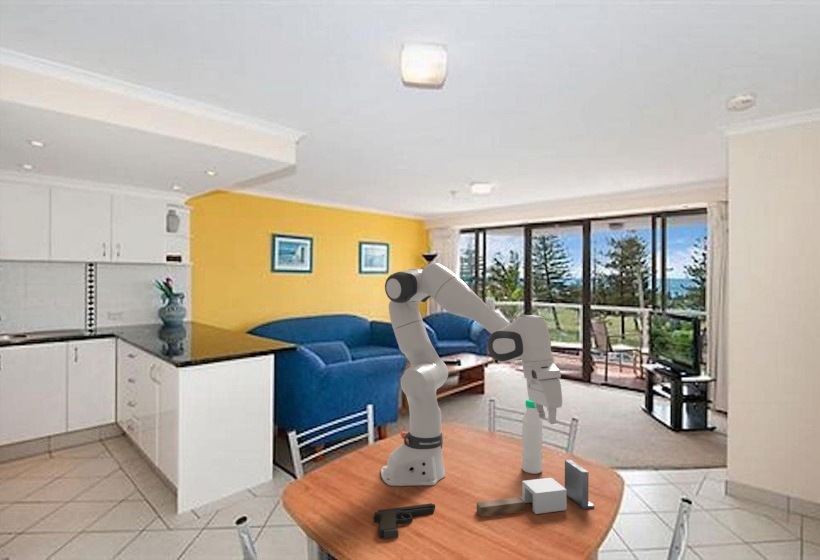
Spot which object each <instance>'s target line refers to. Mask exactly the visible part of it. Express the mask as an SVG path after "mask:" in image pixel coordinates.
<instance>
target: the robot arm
mask: <svg viewBox="0 0 820 560" xmlns="http://www.w3.org/2000/svg"><path fill="white" fill-rule="evenodd" d="M384 291H385V295H386V296H387V298H388V299H389V300H390V301H389V303H388V313H389V319H390V322H391V326H392V330H393V333H394V336H395V339H396V343H397V344H398V348H399V351H400V352H401V353H402V354H403V355H405V357H406V358H407V359H408V362H409V363H410V365H411V366H410V367H408V369H407V370H405V372H404V373H403V374H402V376H401V378H400V388H401V391H403V393H404V395H405V396H406V400H407V404H408V411H409V430H408V432H407V433H406V431H401V432H400V433H399V434H400V436H401V438H402V439H403V443H402V444H401V445H400V446H398V447H397V448H396V449H395V450H393V451H391V453H389V457H388V459H387V465H383V466H382V467H381V469H380V476H381V479H382V481H383V482H384V483H385V484H387V485H388V486H392V487H404V486H434V485H436V484H437V483H438V481H440V480H442V479H443V478H444V477H445V476H446V470H445V466H444V459H443V451H442V449H443V444H444V442H443V440H444V439H443V432H442V411H441V410H442V409H441V408H440V407H439V404H438V399H437V398H438V397H437V390H438V389H440V388H441V387H442V386H444V384H445V383H446V381H447V379H448V377H449V369H448V366H447V365H446V363H445V362H444V361H443V360H442V359H441V358H440V356H439V354H438V353H437V351H436V349H435V347H434V346H433V344H432V342H431V340H430V337H429V335H428V331H427V329H426V325H425V323H424V320H423V318H422V315H421V312H420V311H421V310H420V303H425V302H426V301H428V300H429V299H430V298H432V299H433V301H434V302H435V303H437V305H438V306H440V307H441V308H442V309H444V310H445V311H446V312H448V313H449V314H451V315H454V316H458V317H462V318H467V319H469V320H472V321H474V322H476V323H478V324H479V325H481V326H482V327H483V328H484V329H485V330H486V331H487V332H488V333H490V335H489V337H488V339H487V343H486V345H487V346H486V347H487V351H488V353H489V355H490V357H491V358H492V359H494V360H495V361H498V362H501V363H508V362H514V361H521V364H522V369H523V371H522V372H523V378H524V379H526V387H527V388H526V390H527V396H528V399H529V400H530V401H533V402H534V403H535V407H536V410H537V413H538V417H539V418H541V419H542V420H543V419H546V412H547V421H548V422H547V423H549V424H550V425H555V424H557V412H558V411H557V409H559V408H561V407H562V406H563V393H562V386H561V380H560V378H561V377H562V374H561V371H560V369H559V367H558V366H557V365H556V363H555V359H554V355H553V353H552V339H551V335H550V330H549V326H548V324H547V321H546V319H545V318H544V317H542V316H540V315H534V314H522V315H518V316H517V318H515V320H514V321H512V322H511V323H509V322H508V321H507V320H505V319H504V318H503V317H502V316H501V315H500V314H498V313H497V312H496V311H495V310H494V309H492V308H491V306H489V305H488V304H486V303H485V302H484V300H482V299H481V298H480V297H479V295H477V294H476V293H475V292H474V291H473V289H471V288H470V286H468V284H467V283H466V282H465V281H464V280H463V279H462V278H461V277H459V276H458V275H457V274H456V273H455V272H453V271H452V270H451V269H449V268H448V267H446V266H444V265H443V264H441V263H439V262H430V263H429V264H427V265H425V266H424V267H421V268H409V269H406V270H402V271H398V272H394V273H392V274H390V275H389V276H388V277H387V278H386V280H385V283H384ZM544 407H545V408H546V410H547V411H546V412H545V409H544Z"/></svg>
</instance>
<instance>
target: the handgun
mask: <svg viewBox="0 0 820 560" xmlns="http://www.w3.org/2000/svg"><path fill="white" fill-rule="evenodd" d="M435 509H436V504H435V503H432V502H431V503H423V504H416V505H410V506H409V505H408V506H407V505H406V506H401V507H400V506H399V507H394V508H393V507H392V508H385V509H378V511H375V512H374V513H373V522H374V523H378V528H377V534H378V537H379V539H383V540H390V539H396V538H399V530H398V528H397V525H407V524H410V523H412V522H413V518H414V517H416V516H424V515H430V514H432V513H434V512H435Z"/></svg>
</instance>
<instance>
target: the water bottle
mask: <svg viewBox="0 0 820 560" xmlns="http://www.w3.org/2000/svg"><path fill="white" fill-rule="evenodd" d="M525 408H526V411H525V412H524V415H523V416H522V417H521V418H522V419H521V422H522V429H521V430H522V431H521V446H522V449H521V469H522V470H523V471H524V472H525V473H527V474H530V475H536V474H537V475H538V474H541V472H543V452H542V451H543V422H544V421H543V418H542V419H541V418H539V417H538V413H537V410H536V407H535V403H534V402H533V401H530V400H529V398H527V399H526V400H525Z"/></svg>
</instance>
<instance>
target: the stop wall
mask: <svg viewBox="0 0 820 560" xmlns="http://www.w3.org/2000/svg"><path fill="white" fill-rule="evenodd" d="M564 488H565V489H566V490H567V494H566V498H568V499H569V500H570V501H571V502H573V504H575V505H576V506H577V507H579V508H580V509H581V510H582V511H583V510H588V509H590V510H591V509H594V508H595V504H593V502H591V501H589V471H588V470H587V469H585V468H583V466H581V465H579V464H578V463H576V461H575V462H574V461H573V460H572V459H565V460H564Z"/></svg>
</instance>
